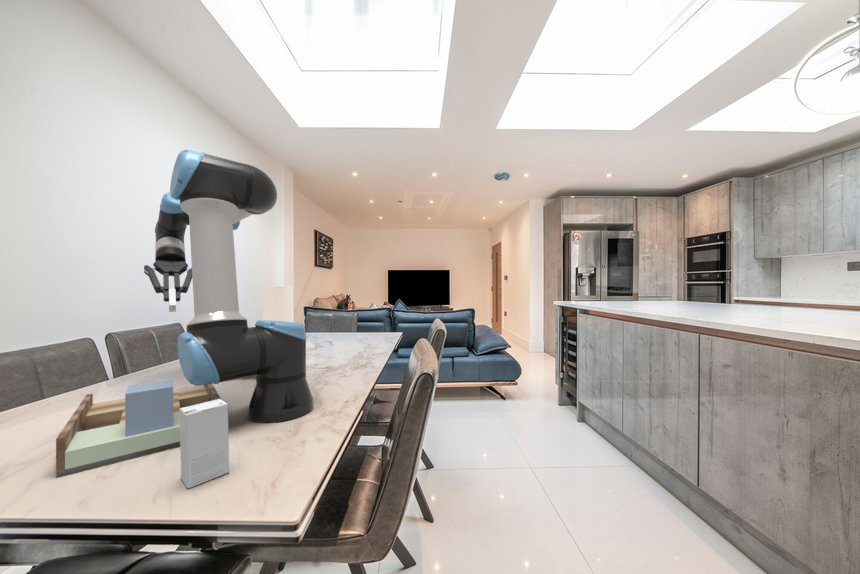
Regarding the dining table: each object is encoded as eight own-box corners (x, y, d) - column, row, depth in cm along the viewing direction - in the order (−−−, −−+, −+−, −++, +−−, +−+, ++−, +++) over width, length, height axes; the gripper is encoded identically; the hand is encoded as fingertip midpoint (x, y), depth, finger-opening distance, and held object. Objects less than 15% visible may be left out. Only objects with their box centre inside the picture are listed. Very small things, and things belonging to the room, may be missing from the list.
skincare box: (221, 464, 58) (220, 397, 58) (230, 473, 55) (230, 402, 55) (178, 480, 53) (178, 406, 53) (186, 491, 50) (185, 413, 50)
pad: (76, 447, 62) (76, 432, 62) (212, 417, 77) (212, 405, 77) (65, 469, 55) (65, 452, 55) (218, 431, 69) (218, 418, 69)
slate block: (128, 424, 66) (128, 385, 66) (172, 416, 70) (172, 379, 70) (125, 437, 60) (125, 394, 60) (173, 426, 65) (173, 386, 65)
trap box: (86, 421, 77) (86, 394, 77) (208, 399, 93) (208, 376, 93) (56, 477, 54) (56, 438, 54) (224, 435, 70) (224, 404, 70)
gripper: (194, 264, 110) (199, 315, 98) (143, 262, 102) (142, 318, 89) (196, 246, 106) (201, 298, 94) (143, 243, 98) (141, 299, 85)
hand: (172, 308), depth 91 cm, fingers closed
